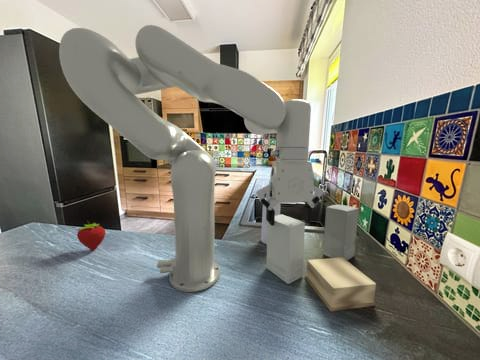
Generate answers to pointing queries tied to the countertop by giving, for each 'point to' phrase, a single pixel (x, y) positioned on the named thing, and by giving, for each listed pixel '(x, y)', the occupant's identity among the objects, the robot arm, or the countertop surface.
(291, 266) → the skincare box
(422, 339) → the countertop surface
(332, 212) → the skincare box
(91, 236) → the strawberry
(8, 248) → the countertop surface
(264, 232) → the spray bottle
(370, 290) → the riser block
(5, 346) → the countertop surface
